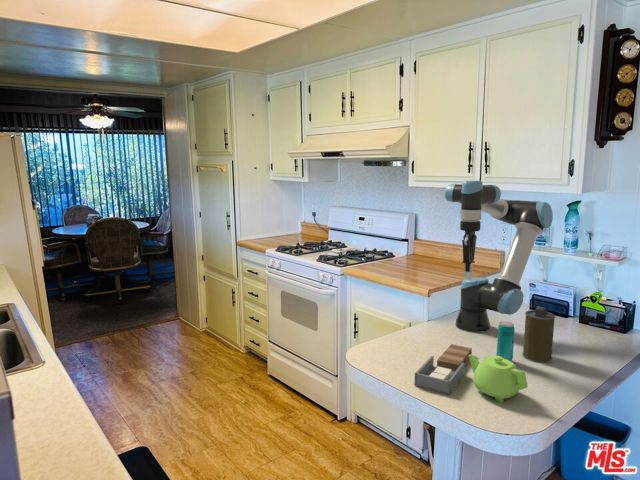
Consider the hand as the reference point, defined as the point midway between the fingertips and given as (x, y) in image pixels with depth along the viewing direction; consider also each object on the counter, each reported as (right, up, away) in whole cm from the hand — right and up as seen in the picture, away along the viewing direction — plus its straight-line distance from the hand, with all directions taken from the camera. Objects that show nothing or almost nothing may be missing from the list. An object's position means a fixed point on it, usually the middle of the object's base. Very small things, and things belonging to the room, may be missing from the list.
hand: (467, 279), depth 177 cm
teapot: (-1, -35, -31) cm, 47 cm away
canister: (+26, -30, -4) cm, 40 cm away
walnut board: (-7, -31, -7) cm, 33 cm away
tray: (-17, -33, -22) cm, 43 cm away
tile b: (-19, -31, -25) cm, 44 cm away
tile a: (-16, -33, -20) cm, 41 cm away
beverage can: (+12, -31, -7) cm, 34 cm away
